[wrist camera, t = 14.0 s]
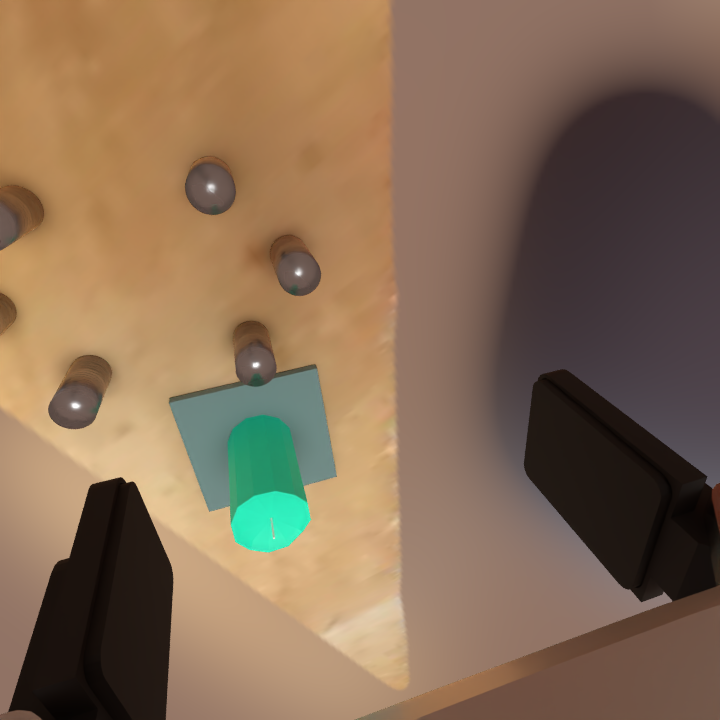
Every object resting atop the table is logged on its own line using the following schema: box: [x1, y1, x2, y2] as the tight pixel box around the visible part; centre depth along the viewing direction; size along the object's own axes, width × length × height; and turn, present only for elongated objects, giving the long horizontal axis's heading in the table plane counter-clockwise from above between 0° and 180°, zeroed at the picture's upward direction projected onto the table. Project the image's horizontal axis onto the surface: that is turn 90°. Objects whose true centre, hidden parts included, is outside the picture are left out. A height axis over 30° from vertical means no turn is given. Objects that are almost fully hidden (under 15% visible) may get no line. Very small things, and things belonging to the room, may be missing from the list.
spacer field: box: [0, 156, 321, 429], centre depth 35 cm, size 16×25×6 cm, turn 98°
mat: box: [169, 365, 337, 512], centre depth 46 cm, size 13×13×1 cm
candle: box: [228, 415, 311, 552], centre depth 40 cm, size 6×6×12 cm
